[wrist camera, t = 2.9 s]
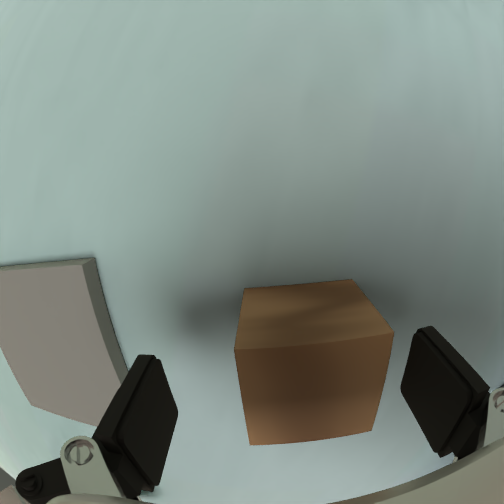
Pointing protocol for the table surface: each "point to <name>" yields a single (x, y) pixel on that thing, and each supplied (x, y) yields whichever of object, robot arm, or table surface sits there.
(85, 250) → the table surface
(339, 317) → the walnut cube
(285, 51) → the table surface
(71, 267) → the slate coaster
